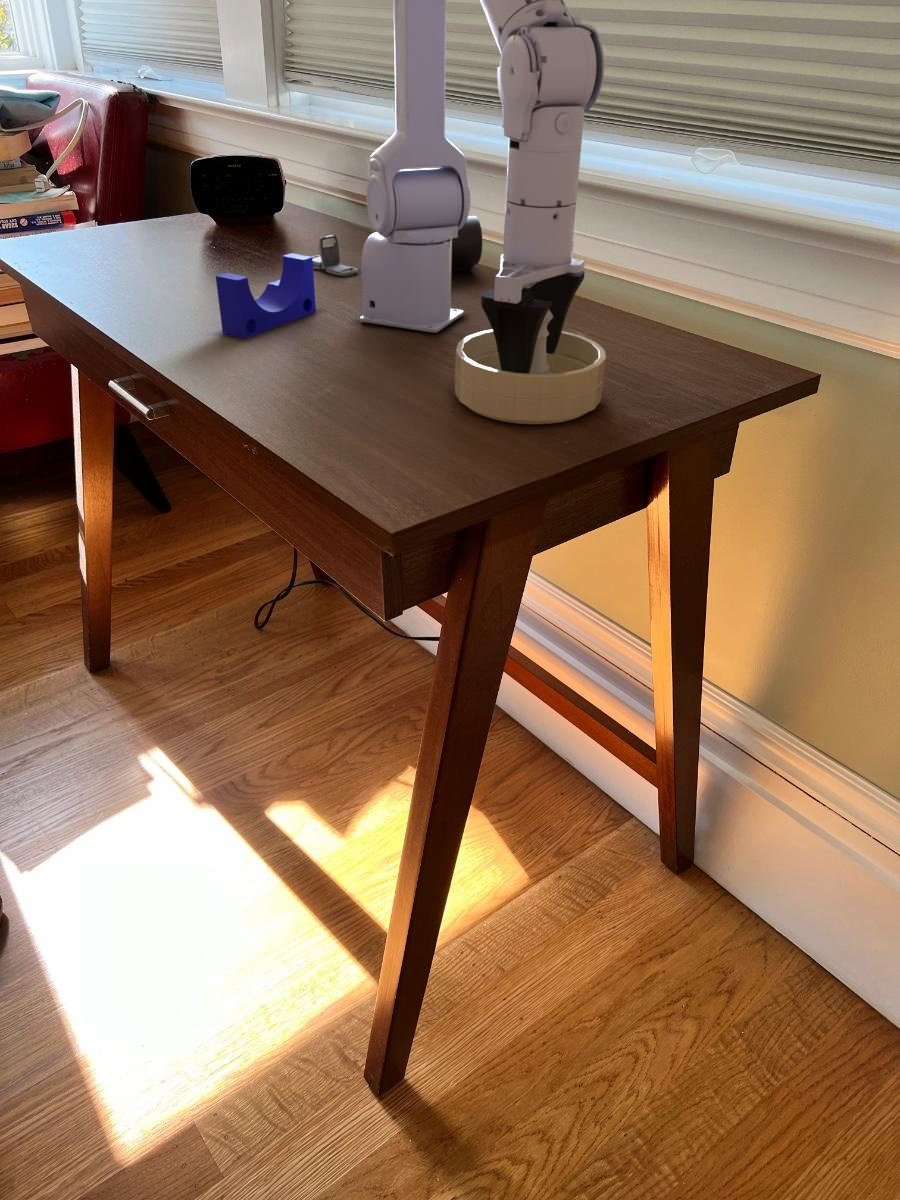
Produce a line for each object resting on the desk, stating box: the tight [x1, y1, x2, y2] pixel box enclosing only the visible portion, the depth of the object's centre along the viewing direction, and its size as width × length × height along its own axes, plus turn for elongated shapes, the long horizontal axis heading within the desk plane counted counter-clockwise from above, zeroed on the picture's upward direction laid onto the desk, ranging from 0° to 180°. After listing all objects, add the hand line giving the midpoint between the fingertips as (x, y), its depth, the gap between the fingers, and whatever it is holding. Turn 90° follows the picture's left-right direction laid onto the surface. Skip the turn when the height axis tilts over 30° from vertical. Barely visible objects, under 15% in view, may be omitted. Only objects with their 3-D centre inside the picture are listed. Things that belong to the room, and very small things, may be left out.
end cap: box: [451, 215, 483, 271], centre depth 118 cm, size 10×7×7 cm
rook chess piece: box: [529, 310, 553, 374], centre depth 80 cm, size 4×4×8 cm
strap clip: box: [311, 234, 359, 276], centre depth 119 cm, size 8×3×4 cm, turn 48°
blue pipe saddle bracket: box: [215, 252, 317, 340], centre depth 99 cm, size 12×4×6 cm, turn 148°
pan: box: [454, 329, 607, 425], centre depth 82 cm, size 13×13×4 cm
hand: (529, 364), depth 81 cm, fingers open, 7 cm apart
